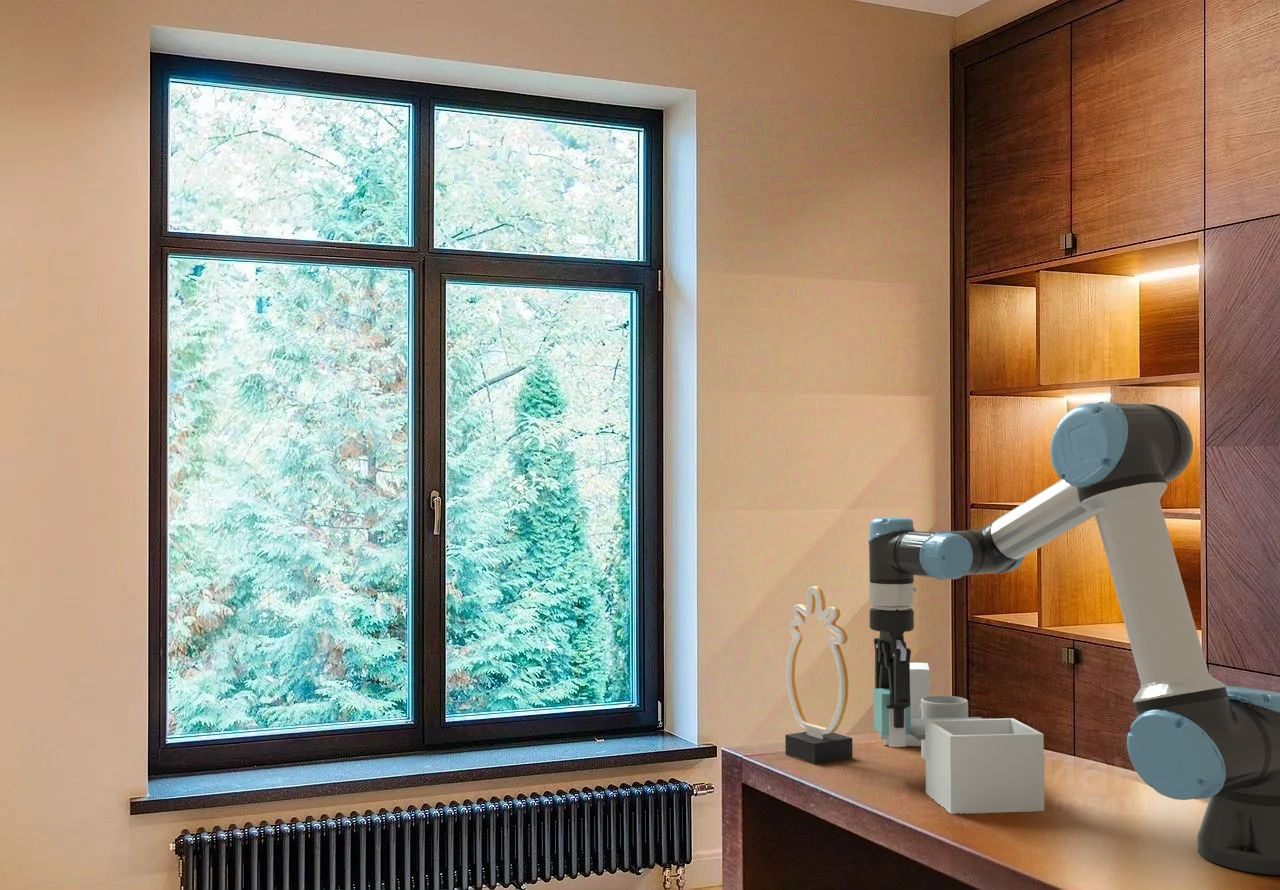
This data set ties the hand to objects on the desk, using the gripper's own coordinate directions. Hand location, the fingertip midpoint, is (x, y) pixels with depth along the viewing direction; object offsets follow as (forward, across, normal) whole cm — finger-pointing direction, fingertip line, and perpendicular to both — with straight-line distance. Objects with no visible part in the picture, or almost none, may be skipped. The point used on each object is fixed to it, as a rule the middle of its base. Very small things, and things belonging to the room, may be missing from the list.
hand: (892, 742), depth 209 cm
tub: (+6, -15, -10) cm, 19 cm away
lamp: (+7, +18, +9) cm, 21 cm away
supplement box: (+7, +28, -11) cm, 31 cm away
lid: (0, 0, -8) cm, 8 cm away
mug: (+7, +15, -13) cm, 21 cm away
